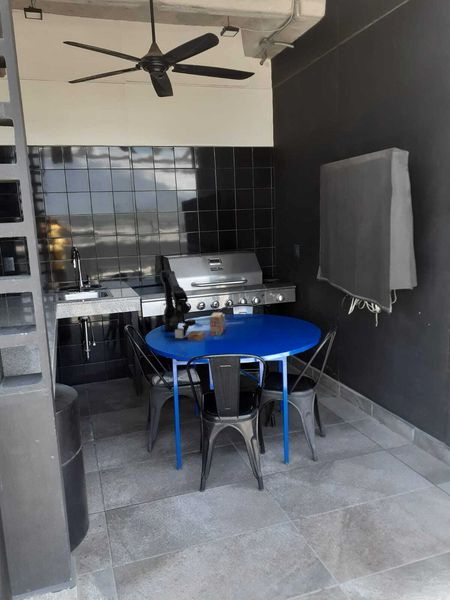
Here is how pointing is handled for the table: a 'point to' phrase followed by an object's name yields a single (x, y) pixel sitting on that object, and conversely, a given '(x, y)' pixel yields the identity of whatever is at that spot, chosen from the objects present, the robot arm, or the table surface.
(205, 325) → the table surface
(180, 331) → the cream cube
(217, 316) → the stack of blocks
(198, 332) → the walnut block
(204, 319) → the table surface
